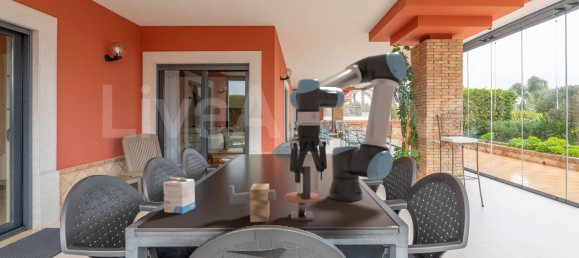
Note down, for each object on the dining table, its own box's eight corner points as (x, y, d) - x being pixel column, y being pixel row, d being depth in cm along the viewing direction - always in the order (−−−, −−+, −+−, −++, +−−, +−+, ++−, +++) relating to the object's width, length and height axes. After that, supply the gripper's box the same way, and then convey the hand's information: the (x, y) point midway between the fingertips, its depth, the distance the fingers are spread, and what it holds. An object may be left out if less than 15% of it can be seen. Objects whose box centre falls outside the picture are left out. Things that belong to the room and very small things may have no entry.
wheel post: (312, 213, 121) (312, 196, 120) (314, 220, 113) (314, 202, 112) (290, 213, 121) (290, 196, 120) (291, 220, 113) (290, 202, 112)
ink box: (195, 208, 129) (195, 174, 128) (182, 214, 121) (181, 178, 120) (177, 206, 132) (177, 173, 131) (163, 212, 124) (162, 177, 123)
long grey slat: (275, 197, 118) (273, 180, 118) (275, 200, 115) (273, 182, 114) (231, 202, 118) (229, 185, 118) (230, 204, 115) (228, 186, 114)
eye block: (269, 213, 122) (269, 183, 121) (267, 221, 112) (267, 189, 111) (253, 213, 121) (253, 183, 121) (250, 222, 111) (250, 189, 111)
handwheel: (281, 195, 121) (281, 163, 120) (312, 193, 124) (312, 162, 123) (290, 204, 109) (290, 168, 109) (323, 201, 112) (323, 166, 112)
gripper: (289, 125, 103) (289, 196, 104) (337, 124, 113) (337, 189, 114) (278, 124, 110) (278, 192, 111) (325, 123, 120) (325, 185, 121)
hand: (308, 190), depth 112 cm, fingers open, 7 cm apart
